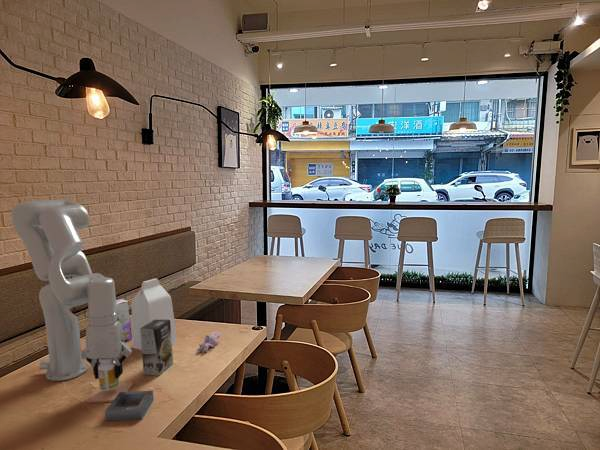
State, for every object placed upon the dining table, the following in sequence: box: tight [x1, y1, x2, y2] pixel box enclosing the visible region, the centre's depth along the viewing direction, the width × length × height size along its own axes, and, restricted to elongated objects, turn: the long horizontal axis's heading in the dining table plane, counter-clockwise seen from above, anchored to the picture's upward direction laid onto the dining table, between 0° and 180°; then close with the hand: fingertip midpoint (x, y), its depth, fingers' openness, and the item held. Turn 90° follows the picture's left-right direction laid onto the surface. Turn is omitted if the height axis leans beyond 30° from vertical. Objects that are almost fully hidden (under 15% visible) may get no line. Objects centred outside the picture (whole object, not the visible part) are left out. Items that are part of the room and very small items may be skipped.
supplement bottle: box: [98, 358, 120, 391], centre depth 125 cm, size 5×5×10 cm
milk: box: [131, 277, 178, 351], centre depth 160 cm, size 12×12×26 cm
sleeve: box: [104, 390, 154, 422], centre depth 116 cm, size 10×10×3 cm
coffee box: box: [140, 320, 174, 376], centre depth 140 cm, size 9×6×16 cm
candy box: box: [88, 298, 133, 342], centre depth 163 cm, size 14×6×16 cm, turn 141°
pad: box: [85, 381, 134, 404], centre depth 126 cm, size 10×10×1 cm
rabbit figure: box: [195, 331, 222, 356], centre depth 158 cm, size 6×6×15 cm
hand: (108, 376), depth 125 cm, fingers closed on supplement bottle, 5 cm apart
